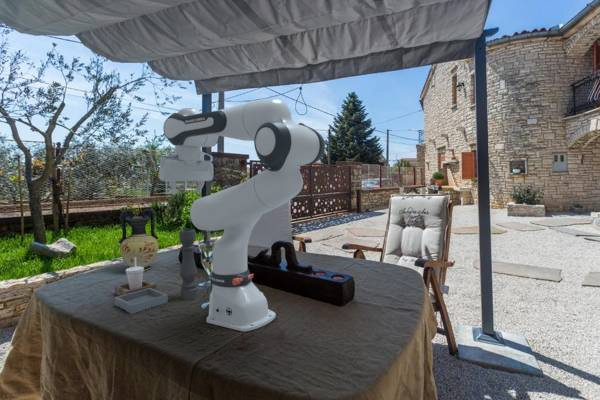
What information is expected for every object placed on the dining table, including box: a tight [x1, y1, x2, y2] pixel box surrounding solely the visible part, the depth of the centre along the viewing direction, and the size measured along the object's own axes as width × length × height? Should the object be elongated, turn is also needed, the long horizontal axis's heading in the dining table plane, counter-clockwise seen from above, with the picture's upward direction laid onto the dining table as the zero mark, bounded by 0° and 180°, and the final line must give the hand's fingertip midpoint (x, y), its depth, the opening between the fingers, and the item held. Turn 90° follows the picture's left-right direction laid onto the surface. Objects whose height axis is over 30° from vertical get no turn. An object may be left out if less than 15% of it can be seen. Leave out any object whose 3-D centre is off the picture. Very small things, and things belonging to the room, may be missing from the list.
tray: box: [114, 288, 169, 315], centre depth 114 cm, size 13×13×3 cm
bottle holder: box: [114, 278, 157, 296], centre depth 125 cm, size 11×11×3 cm
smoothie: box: [125, 257, 145, 290], centre depth 125 cm, size 6×6×14 cm
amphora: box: [118, 208, 159, 271], centre depth 157 cm, size 18×17×30 cm
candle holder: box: [178, 229, 199, 301], centre depth 119 cm, size 6×6×25 cm
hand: (187, 193), depth 117 cm, fingers open, 8 cm apart
